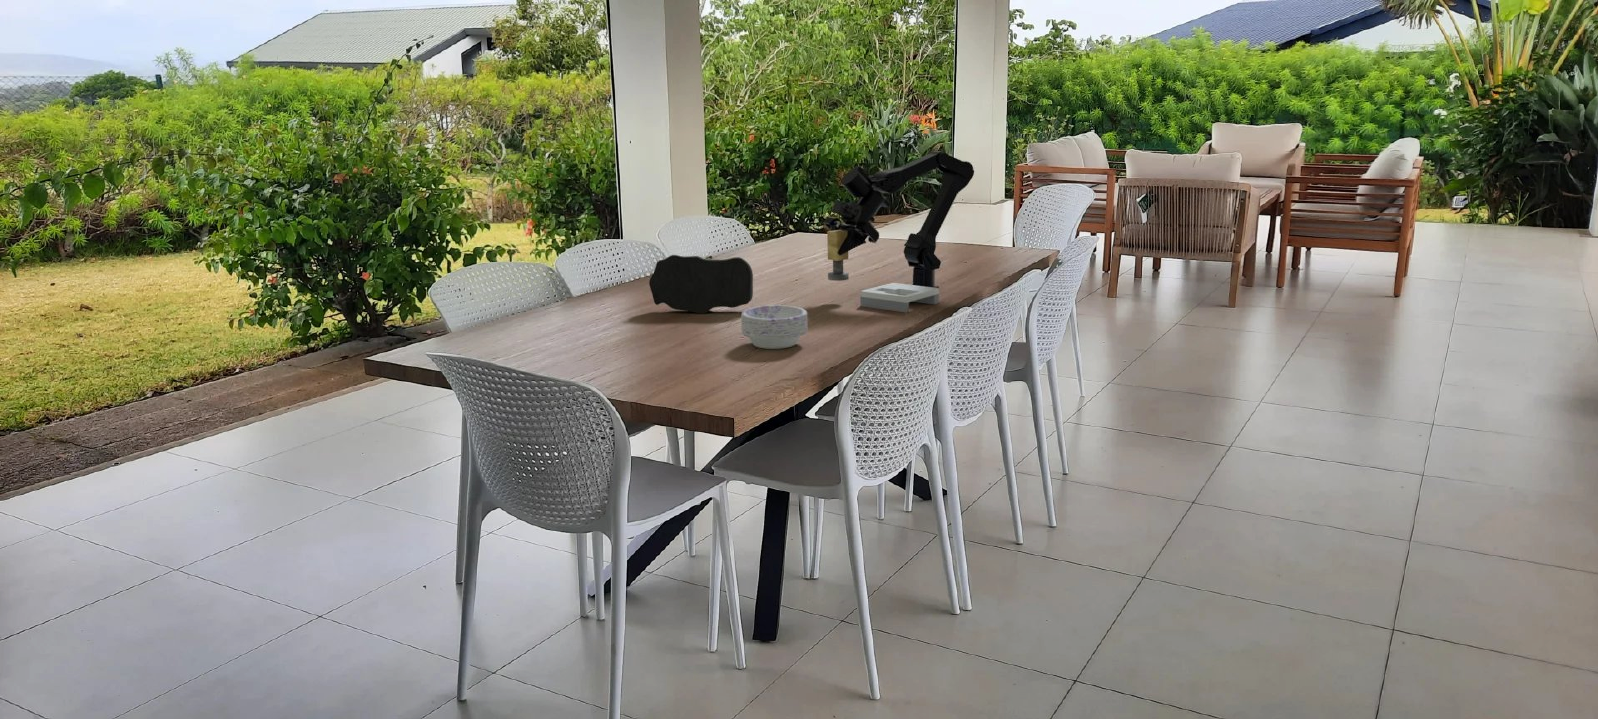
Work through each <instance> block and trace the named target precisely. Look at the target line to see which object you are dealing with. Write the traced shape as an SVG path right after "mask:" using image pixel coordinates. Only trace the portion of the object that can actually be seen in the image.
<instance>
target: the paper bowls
mask: <svg viewBox="0 0 1598 719" xmlns="http://www.w3.org/2000/svg"><path fill="white" fill-rule="evenodd" d="M740 317H741V333H742V335H743V336H744V337H747V338H749V339H750V341H751V344H753V345H754V346H755V347H756V348H760V349H764V350H765V349H766V350H781V349H787V348H791V347H793V346H796V344H797V343H798V342H799V339H800V338H801V336H803V335H805V334H807V333H808V330H809V329H808V311H807V310H806V309H804V308H802V307H799V306H794V305H792V306H791V305H783V304H782V305H779V304H773V305H772V304H770V305H762V306H761V305H760V306H755V307H750V308H747V309H744V310H743V311H742V312H741V314H740Z"/></svg>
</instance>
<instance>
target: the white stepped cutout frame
mask: <svg viewBox="0 0 1598 719" xmlns="http://www.w3.org/2000/svg"><path fill="white" fill-rule="evenodd" d="M939 288H940V287H939ZM939 288H933V287H924V286H916V285H913V284H909V283H898V282H891V283H887V284H882V285H879V286H875V287H870V288H866V289H864V290H863V289H862V290H860V292H859V293H860V296H859V298H860V299H859V300H860V305H859V306H860V307H863V308H869V309H871V308H873V309H878V310H884V311H885V310H886V311H893V312H901V313H909V312H910V306H909V305H910V302H914V303H920V304H921V303H922V304H928V305H938V304H940V300H939V299H940V289H939Z"/></svg>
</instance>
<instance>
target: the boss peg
mask: <svg viewBox="0 0 1598 719" xmlns="http://www.w3.org/2000/svg"><path fill="white" fill-rule="evenodd" d="M826 233H827V234H826V235H827V236H826V237H827V238H826V239H827V242H826V243H827V260H830V261H832V272H828V273H827V279H828V280H829V281H835V282H838V281H839V282H840V281H841V282H842V281H847V280H849V272H846V271H844V261H848V260H849V251H848V252H846V253H844V254H842V255H838V251H839V249H840V247H841V245H842V244H843V242H844V240H845V239H846V237H847V233H848V231H843V230H834V231H830V230H828V231H827V232H826Z"/></svg>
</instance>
